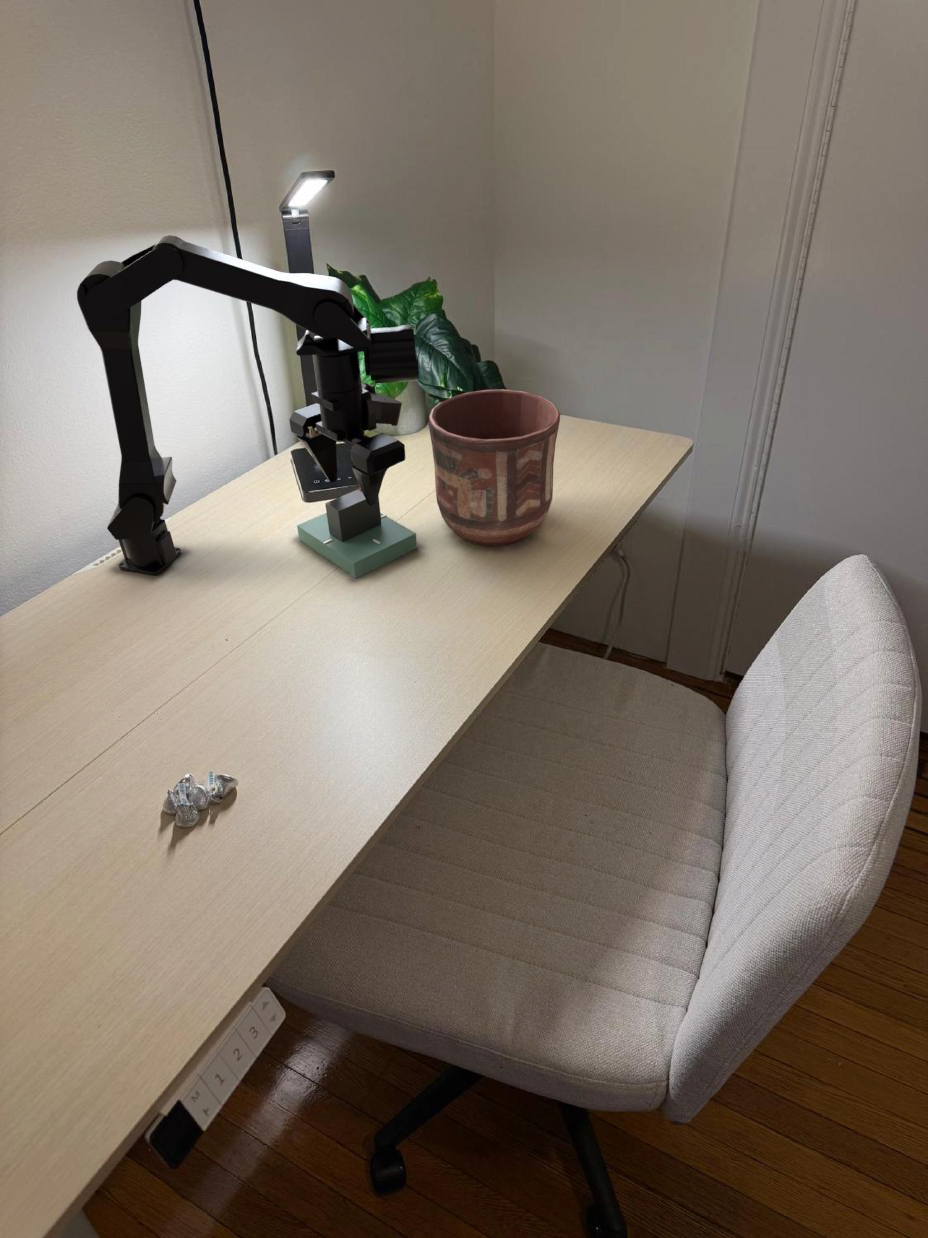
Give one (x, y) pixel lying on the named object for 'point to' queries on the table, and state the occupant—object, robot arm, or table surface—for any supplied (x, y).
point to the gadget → (351, 515)
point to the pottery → (494, 463)
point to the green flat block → (359, 544)
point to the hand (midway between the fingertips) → (352, 492)
